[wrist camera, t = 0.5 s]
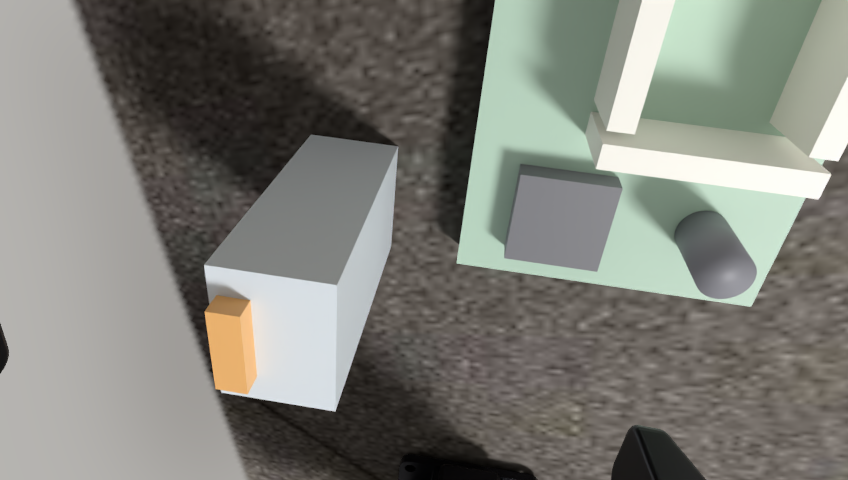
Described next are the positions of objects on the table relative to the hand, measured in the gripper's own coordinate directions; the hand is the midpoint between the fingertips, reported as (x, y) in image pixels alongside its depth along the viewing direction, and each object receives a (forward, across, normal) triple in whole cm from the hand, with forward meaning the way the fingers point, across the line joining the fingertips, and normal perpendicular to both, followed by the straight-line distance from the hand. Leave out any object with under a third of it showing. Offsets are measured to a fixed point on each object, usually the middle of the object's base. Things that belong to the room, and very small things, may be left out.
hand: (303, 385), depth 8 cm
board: (+12, -7, -2) cm, 14 cm away
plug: (+12, +2, +3) cm, 13 cm away
